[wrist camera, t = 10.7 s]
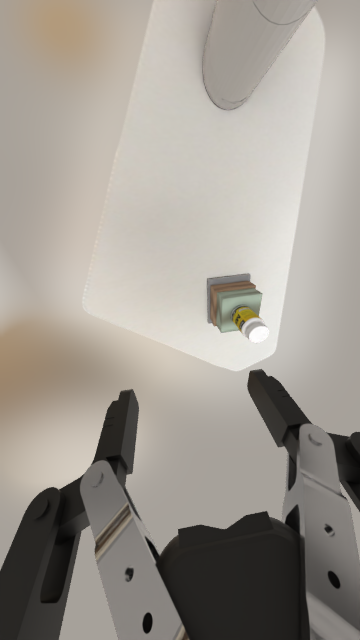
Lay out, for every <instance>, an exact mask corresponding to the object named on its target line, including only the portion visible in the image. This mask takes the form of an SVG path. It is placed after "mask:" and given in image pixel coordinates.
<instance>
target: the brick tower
mask: <svg viewBox="0 0 360 640" xmlns="http://www.w3.org/2000/svg"><path fill="white" fill-rule="evenodd" d="M255 287H256V285H254V284H252V283H251V282H249V281H241V282H233V283H226V284H218V285H210V319H211V321H212V323H213V325H214V326H217V327H218V328H219V330H220V332H221V333H223V332H231V331H238V330H239V329H238V327H237V326H236V325H235V323H234V322H233V321H232V319H231V314H232V311H233V310H234V309H235V308H236V307H238V306H241V305H246V306H248V307H249V308H250V309H251V310H252V311H253V312H255V313H256V314H257V315H258V316H259V311H260V305H261V299H262V293H260V292H259V291H258V290H256V289H255Z"/></svg>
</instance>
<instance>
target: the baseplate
mask: <svg viewBox="0 0 360 640" xmlns="http://www.w3.org/2000/svg"><path fill="white" fill-rule="evenodd" d="M241 281H249V282H250V274H242V275H234V276H226V277H218V278H210V279H207V285H208V323H212V321H211V319H210V285H218V284H226V283H233V282H241Z"/></svg>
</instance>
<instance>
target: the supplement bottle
mask: <svg viewBox="0 0 360 640" xmlns="http://www.w3.org/2000/svg"><path fill="white" fill-rule="evenodd" d="M231 319H232V321H233V322H234V323H235V325H236V326H237V327H238V329H239V330H240V331H241V333H242V334H243V335H244V336H245V337H247V338H248V339H249V340H250V341H251V342H253V343H259V342H262V341H263V340H265V339H266V338H267V336H268V334H269V329H268V328H267V327H266V326H265V325H264V322H263V320H262V319H261V318H260V317H259V316H258V315H257V314H256V313H255V312H253V311H252V310H251V309H250V308H249V307H248V306H246V305H241V306H238V307H236V308H235V309H234V310H233V311H232V314H231Z"/></svg>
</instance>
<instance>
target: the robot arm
mask: <svg viewBox="0 0 360 640" xmlns="http://www.w3.org/2000/svg"><path fill="white" fill-rule="evenodd" d="M317 1H318V0H217V1H216V5H215V9H214V12H213V16H212V22H211V26H210V30H209V34H208V38H207V42H206V45H205V49H204V55H203V77H204V83H205V86H206V90H207V92H208V94H209V96H210V98H211V99H212V101H213V102H214V103H215V104H216V105H217V106H218V107H220V108H222V109H227V110H231V109H235V108H237V107H239V106H241V105H242V104H243V103H244V102H245V101H246V100H247V98H248V97H249V96H250V94H251V93H252V91H253V90H254V89H255V87H256V86H257V85H258V83H259V82H260V81H261V79H262V78H263V76H264V75H265V74H266V72H267V71H268V69H269V68H270V67H271V65H272V64H273V62H274V61H275V60H276V58H277V57H278V55H279V54H280V53H281V51H282V50H283V48H284V47H285V46H286V44H287V43H288V41H289V40H290V39H291V37H292V36H293V34H294V33H295V32H296V30H297V29H298V27H299V26H300V25H301V23H302V22H303V20H304V19H305V18H306V16H307V15H308V13H309V12H310V11H311V9H312V8H313V6H314V5H315V4H316V2H317ZM247 387H248V391H249V394H250V396H251V398H252V400H253V401H254V403H255V405H256V407H257V409H258V411H259V413H260V414H261V416H262V418H263V420H264V422H265V423H266V426H267V428H268V429H269V431H270V433H271V435H272V437H273V439H274V440H275V442H276V444H277V446H278V447H283V446H285V447H286V449H287V451H288V453H287V472H286V473H287V474H286V492H285V497H284V503H283V510H282V522H281V521H279V520H277V519H275V518H272V517H269V515H268V513H267V511H265V512H260V513H255V514H250V515H246V516H244V517H243V518H241V519H240V520H239V521H237V522H236V523H234V524H233V525H231V526H230V527H229V528H227V529H219V528H213V527H209V526H204V525H196V526H192V527H187V528H182V529H178V534H179V535H177V536H176V537H174V538H173V539H172V540H171V541H170V542H169V544H168V545H167V546H166V547H165V549H164V550H163V552H162V553H161V555H160V553H159V551H158V549H157V547H156V545H155V543H154V541H153V539H152V537H151V535H150V533H149V531H148V530H147V528H146V526H145V524H144V523H143V521H142V519H141V517H140V515H139V513H138V511H137V509H136V507H135V505H134V503H133V501H132V499H131V497H130V495H129V493H128V491H127V489H126V486H125V482H126V475H127V474H132V472H133V462H134V452H135V442H136V433H137V423H138V412H139V406H138V402H137V399H136V396H135V393H134V391H133V389H131V390H124V391H121V392H120V395H119V399H118V400H117V401H113V402H112V403H111V405H110V407H109V408H108V410H107V413H106V417H105V421H104V424H103V428H102V432H101V436H100V439H99V443H98V447H97V451H96V454H95V457H94V460H93V462H92V464H91V466H90V467H89V468H88V469H87V471H86V472H85V474H83V475H82V476H81V477H80V478H78V479H77V480H75V481H73V482H72V483H70V484H68V485H66V486H65V487H63V488H61V489H59V490H58V489H57V488H54V487H51V488H47V489H46V490H44V491H42V492H41V493H39V494H38V495H37V496H36V497H35V498H34V499H33V501H32V502H31V503H30V505H29V506H28V508H27V510H26V512H25V514H24V516H23V518H22V521H21V523H20V526H19V528H18V530H17V533H16V535H15V537H14V540H13V542H12V545H11V547H10V549H9V552H8V554H7V556H6V559H5V561H4V563H3V566H2V568H1V571H0V640H59V635H60V630H61V626H62V621H63V616H64V611H65V607H66V602H67V597H68V592H69V588H70V583H71V578H72V573H73V568H74V564H75V559H76V555H77V550H78V545H79V540H80V536H81V531H82V530H83V529H85V528H86V527H88V526H89V525H90V526H91V529H92V532H93V536H94V539H95V543H96V546H95V558H96V562H97V566H98V570H99V573H100V576H101V580H102V583H103V587H104V590H105V594H106V597H107V601H108V604H109V608H110V611H111V615H112V618H113V622H114V625H115V629H116V632H117V636H118V639H119V640H360V560H359V555H358V549H357V543H356V537H355V532H354V526H353V520H352V515H351V509H350V505H349V502H348V500H347V499H346V497H344V496H343V495H342V493H341V489H340V484H339V481H340V482H341V484H342V485H343V487H344V489H345V490H346V492H347V493H348V495H349V496H350V498H351V499H352V501H353V502H354V504H355V505H356V507H357V508H358V510H359V511H360V432H355V433H353V434H352V435H351V436H350V437H347V436H342V435H336V434H331V433H327V432H325V431H324V430H323V429H321V428H320V427H318V426H316V425H313V424H312V423H311V422H310V421H309V420H308V418H307V417H306V416H305V414H304V413H303V412H302V411H301V409H300V408H299V407H298V405H297V404H296V403H295V401H294V400H293V399H292V397H290V395H289V394H288V392H287V391H286V390H285V388H284V387H283V386H282V384H281V383H280V382H279V381H278V380H276V379H275V378H274V377H272V376H269V377H268V376H267V375H266V373H265V372H264V371H263V370H262V369H259V370H253V371H250V373H249V379H248V385H247Z"/></svg>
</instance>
